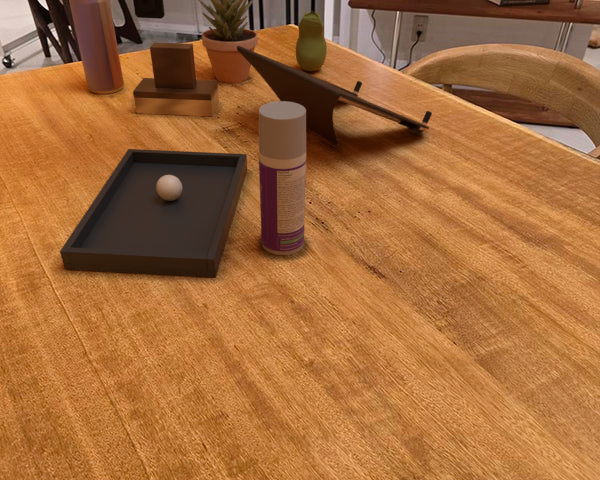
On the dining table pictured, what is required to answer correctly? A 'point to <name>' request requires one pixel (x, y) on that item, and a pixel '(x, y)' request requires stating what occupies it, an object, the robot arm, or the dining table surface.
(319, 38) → the pear
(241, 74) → the potted plant
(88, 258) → the tray
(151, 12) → the robot arm
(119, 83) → the beverage can
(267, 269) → the dining table surface
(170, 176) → the white ball
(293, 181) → the container
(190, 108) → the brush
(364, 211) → the dining table surface
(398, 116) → the laptop stand
